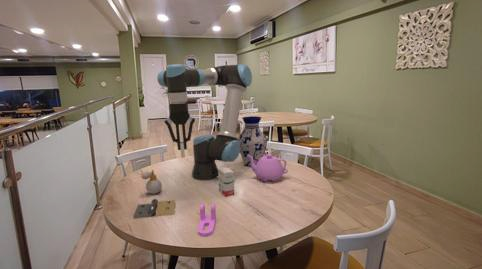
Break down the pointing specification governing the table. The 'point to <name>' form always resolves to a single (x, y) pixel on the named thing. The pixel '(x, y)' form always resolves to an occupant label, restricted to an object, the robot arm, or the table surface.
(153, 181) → the perfume bottle
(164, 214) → the plate
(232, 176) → the ink box
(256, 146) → the vase
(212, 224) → the bracket
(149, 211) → the steel leaf
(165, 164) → the table surface
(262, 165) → the teapot
